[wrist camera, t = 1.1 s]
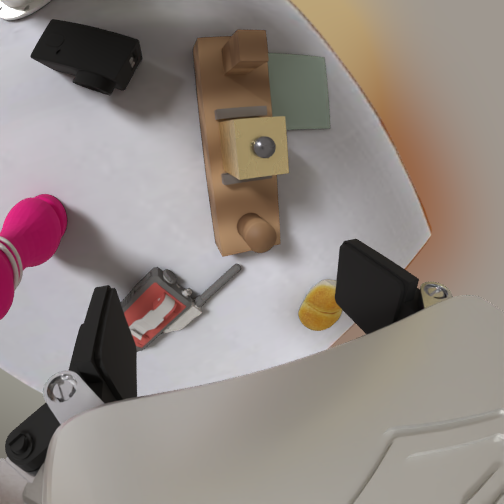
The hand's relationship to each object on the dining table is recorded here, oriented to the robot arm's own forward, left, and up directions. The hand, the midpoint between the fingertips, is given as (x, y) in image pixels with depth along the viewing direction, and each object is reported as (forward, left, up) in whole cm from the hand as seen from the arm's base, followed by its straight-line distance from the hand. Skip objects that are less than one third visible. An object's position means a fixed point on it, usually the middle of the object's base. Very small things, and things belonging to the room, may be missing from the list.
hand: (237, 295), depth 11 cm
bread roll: (+22, +18, -24) cm, 37 cm away
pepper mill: (0, -18, -23) cm, 29 cm away
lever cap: (-4, +6, -19) cm, 20 cm away
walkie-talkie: (+14, -5, -24) cm, 28 cm away
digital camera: (-16, -9, -23) cm, 30 cm away
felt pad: (-10, +15, -23) cm, 29 cm away
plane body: (-4, +6, -23) cm, 24 cm away
